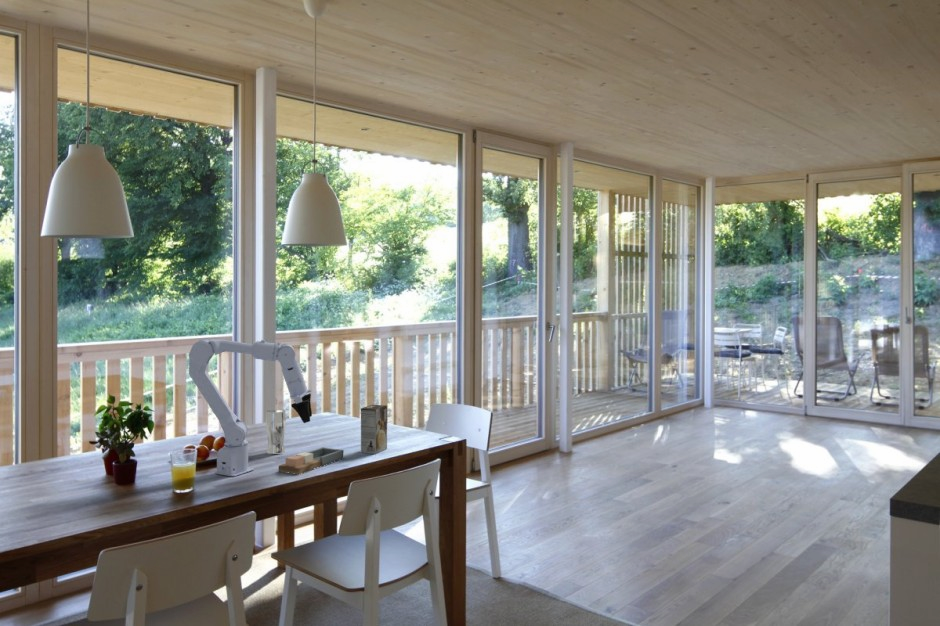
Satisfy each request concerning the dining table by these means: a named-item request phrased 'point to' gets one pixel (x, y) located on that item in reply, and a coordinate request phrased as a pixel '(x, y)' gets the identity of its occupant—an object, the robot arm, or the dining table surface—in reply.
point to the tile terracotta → (294, 461)
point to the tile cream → (306, 457)
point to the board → (301, 467)
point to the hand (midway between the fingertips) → (308, 419)
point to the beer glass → (275, 430)
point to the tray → (327, 455)
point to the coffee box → (373, 429)
